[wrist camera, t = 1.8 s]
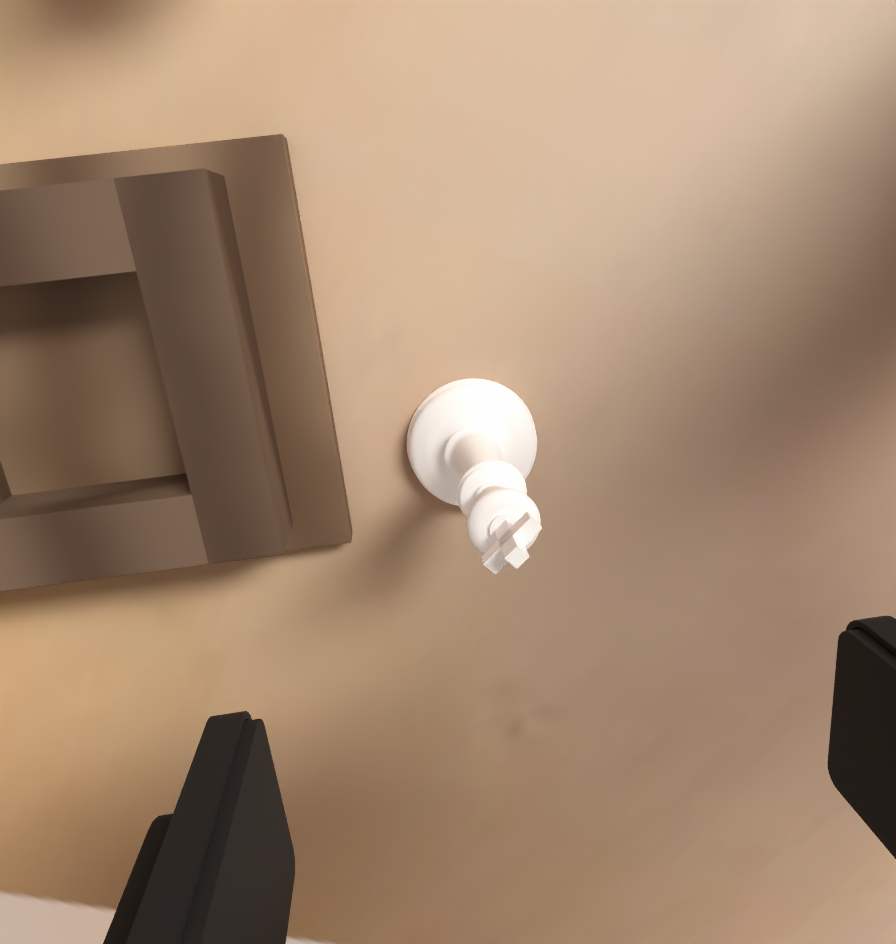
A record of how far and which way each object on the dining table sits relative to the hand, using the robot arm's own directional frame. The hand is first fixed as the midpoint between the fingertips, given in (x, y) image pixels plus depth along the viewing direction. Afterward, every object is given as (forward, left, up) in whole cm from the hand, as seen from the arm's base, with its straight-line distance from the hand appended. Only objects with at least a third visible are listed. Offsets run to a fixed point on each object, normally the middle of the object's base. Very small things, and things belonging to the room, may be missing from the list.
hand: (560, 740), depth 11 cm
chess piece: (0, 0, -16) cm, 16 cm away
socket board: (+13, -4, -16) cm, 21 cm away
